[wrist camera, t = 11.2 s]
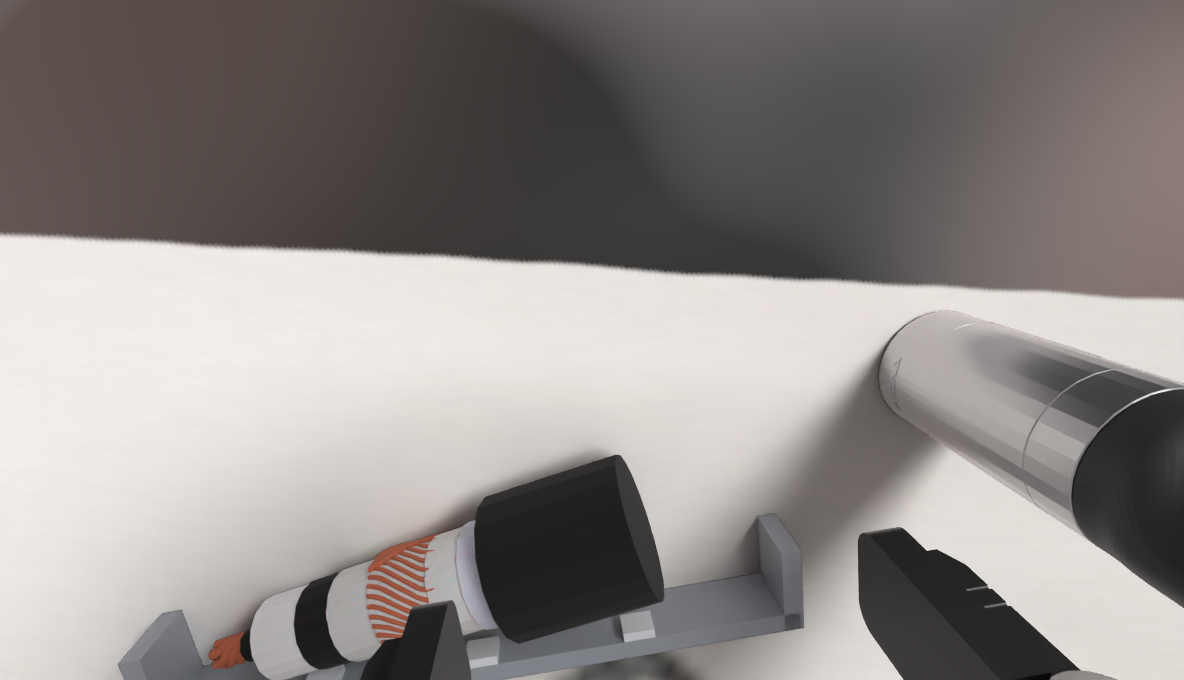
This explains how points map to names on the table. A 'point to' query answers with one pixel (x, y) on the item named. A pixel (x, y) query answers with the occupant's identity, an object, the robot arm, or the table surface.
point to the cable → (474, 576)
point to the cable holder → (684, 619)
